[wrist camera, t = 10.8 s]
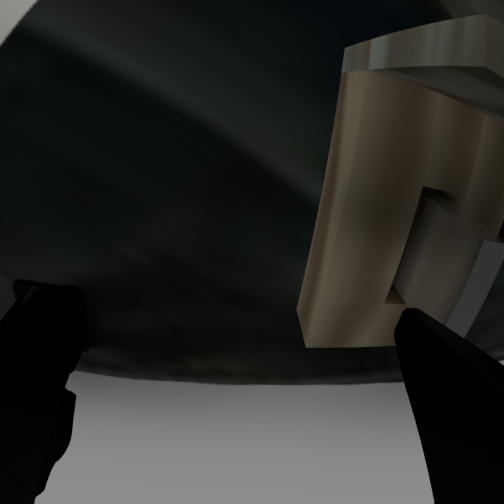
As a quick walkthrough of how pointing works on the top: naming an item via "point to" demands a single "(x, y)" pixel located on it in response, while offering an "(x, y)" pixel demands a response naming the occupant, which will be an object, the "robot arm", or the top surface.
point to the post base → (401, 168)
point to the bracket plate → (447, 262)
